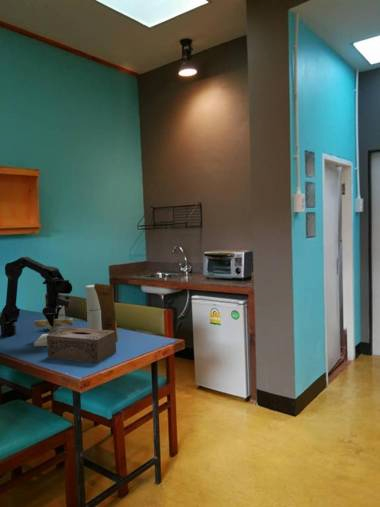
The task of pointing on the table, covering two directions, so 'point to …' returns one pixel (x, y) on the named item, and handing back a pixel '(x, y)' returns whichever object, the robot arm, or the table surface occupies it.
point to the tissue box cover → (81, 344)
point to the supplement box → (60, 316)
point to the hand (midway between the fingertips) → (54, 323)
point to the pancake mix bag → (107, 307)
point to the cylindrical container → (93, 308)
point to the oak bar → (54, 323)
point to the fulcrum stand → (43, 339)
